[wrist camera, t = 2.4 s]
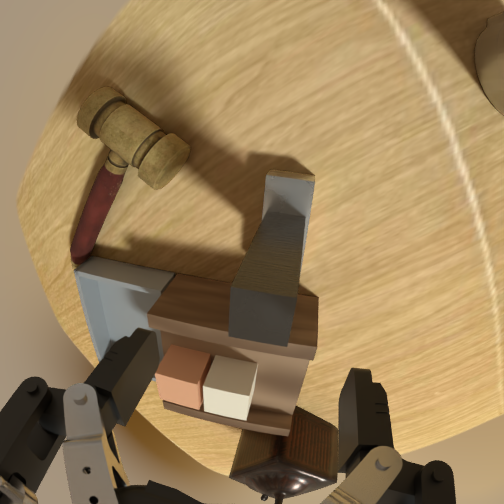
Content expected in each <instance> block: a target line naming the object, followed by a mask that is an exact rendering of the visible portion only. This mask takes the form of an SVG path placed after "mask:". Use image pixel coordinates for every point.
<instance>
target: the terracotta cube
mask: <svg viewBox="0 0 504 504" xmlns="http://www.w3.org/2000/svg"><path fill="white" fill-rule="evenodd" d="M210 368H211V354H209V353H205V352H201V351H196V350H192V349H188V348H184V347H180V346H176V345H172V344H171V345H170V347H169V349H168V350H167V352H166V354H165V356H164V357H163V359H162V361H161V362H160V364H159V366H158V369H157V371H156V373H155V377H156V382H157V387H158V392H159V396H160V399H162V400H166V401H169V402H172V403H176V404H179V405H183V406H186V407H190V408H194V409H198V410H199V409H200V407H201V404H202V402H203V399H204V397H203V385H204V382H205V380H206V377H207V375H208V372H209V370H210Z"/></svg>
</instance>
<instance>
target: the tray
mask: <svg viewBox="0 0 504 504" xmlns="http://www.w3.org/2000/svg"><path fill="white" fill-rule="evenodd" d="M74 273H75V278H76V282H77V287H78V291H79V295H80V299H81V303H82V307H83V311H84V314H85V318H86V322H87V325H88V329H89V332H90V335H91V339H92V342H93V345H94V348H95V351H96V354H97V357H98V360H99V362H100V361H101V360H102V359H104V356H105V355H106V353H107V352H109V349H110V348H111V347H112V346H113V344H114V343H115V342H116V341H118V340H119V339H121V338H122V337H124V336H127V337H130V336H131V335H132V333H133V332H134V331H135V329H136V328H138V327H139V328H143V329H147V330H150V331H154V332H155V333H156V336H157V343H158V350H159V356H160V361H159V364H160V362H161V361H162V359H163V357H164V354H163V347H162V340H161V332H160V330H158V329H154V328H150V327H149V325H148V318H147V313H148V311H149V310H150V309H151V307H152V306H153V305H154V303H155V302H156V301H157V300H158V298H159V297H160V296H161V294H162V293H163V292H164V290H165V289H166V288H167V287H168V285H169V284H170V283H171V282H172V280H173V279H174V278H175V273H174V272H169V271H164V270H158V269H153V268H148V267H143V266H138V265H133V264H129V263H124V262H119V261H114V260H109V259H105V258H100V257H95V256H91V257H90V258H88V259H87V260H86V261H85V262H83V263H82V264H81V265H79V266H78V267H77V268H76V269H74ZM152 380H153V381H156V377H155V375H154V376H153V378H152Z"/></svg>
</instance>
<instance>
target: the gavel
mask: <svg viewBox="0 0 504 504" xmlns="http://www.w3.org/2000/svg"><path fill="white" fill-rule="evenodd" d="M77 125H78V127H79V128H80V129H82V130H83V131H84V132H85V133H86V134H88V135H89V136H90V137H91V138H93V139H97V138H100V140H101V141H102V142H103V143H104V144H105V145H106V146H108V147H109V148H110V149H111V151H110V153H109V156H108V158H107V160H106V162H105V164H104V165H103V167H102V168H101V169H100V171H99V173H98V175H97V177H96V180H95V182H94V184H93V187H92V189H91V192H90V194H89V197H88V199H87V202H86V205H85V207H84V210H83V213H82V215H81V218H80V221H79V224H78V227H77V230H76V233H75V236H74V239H73V242H72V245H71V248H70V252H71V262H72V268H73V269H76V268H77V267H78V266H79V265H81V264H82V263H83V262H84V261H85V260H87V259H88V258H89V256H90V254H91V252H92V249H93V247H94V244H95V242H96V239H97V237H98V234H99V232H100V230H101V227H102V225H103V223H104V221H105V218H106V216H107V214H108V212H109V209H110V207H111V205H112V203H113V201H114V199H115V196H116V194H117V192H118V190H119V188H120V186H121V184H122V181H123V178H124V174H125V171H126V169H127V167H128V165H129V164H130V165H131V166H132V167H136V168H138V169H139V170H138V176H139V177H140V178H141V179H142V180H143V181H144V182H146V183H147V184H148V185H149V186H150V187H152V188H153V189H154V190H158V189H161V188H163V187H164V186H165V185H167V184H168V183H169V182H170V181H171V180H172V179H173V178H174V176H175V175H176V174H177V173H178V172H179V170H180V169H181V167H182V166H183V164H184V163H185V162H186V160H187V159H188V157H189V154H190V146H189V145H188V144H187V143H185V142H184V141H183V140H182V139H180V138H179V137H178V136H176V135H175V134H173V133H170V134H168V135H166V134H164V133H163V130H162V129H161V128H160V127H158V126H157V125H156V124H154V123H153V122H152V121H150V120H149V119H148V118H146V117H145V116H144V115H142V114H141V113H140V112H138V111H137V110H136V109H134V108H133V107H131V106H130V105H126V98H125V97H124V96H123V95H121V94H120V93H118V92H117V91H116V90H114V89H113V88H111V87H108V86H106V87H102V88H100V89H98V90H96V91H95V92H93V93H92V94H91V95H90V96H89V97H88V98H87V99H86V100H85V102H84V103H83V105H82V106H81V108H80V110H79V113H78V116H77Z"/></svg>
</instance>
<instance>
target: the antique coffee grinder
mask: <svg viewBox="0 0 504 504" xmlns="http://www.w3.org/2000/svg"><path fill="white" fill-rule="evenodd" d="M337 473H338V429H337V428H336V427H335V426H334V425H332V424H330V423H329V422H327V421H325V420H323V419H321V418H319V417H317V416H315V415H313V414H312V413H310V412H308V411H305V410H303V409H301V408H299V407H297V406H295V409H294V412H293V415H292V422H291V429H290V432H289V435H288V436H282V435H275V434H269V433H263V432H258V431H252V430H247V429H242V433H241V436H240V440H239V443H238V447H237V450H236V454H235V458H234V461H233V465H232V468H231V472H230V475H229V478H231V479H233V480H235V481H238V482H240V483H243V484H246V485H247V486H248V487H249V488H251V489H253V490H255V491H256V492H259V493H261V494H263V495H262V497H261V500H263V501H265V500H267V499H268V496H269V497H272V498H275V504H282V502H283V499H284V498H289V497H294V496H297V495H301V494H304V493H308V492H311V491H314V490H318V489H321V488H323V487H326V486H329V485H332V484H334V483H337Z"/></svg>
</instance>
